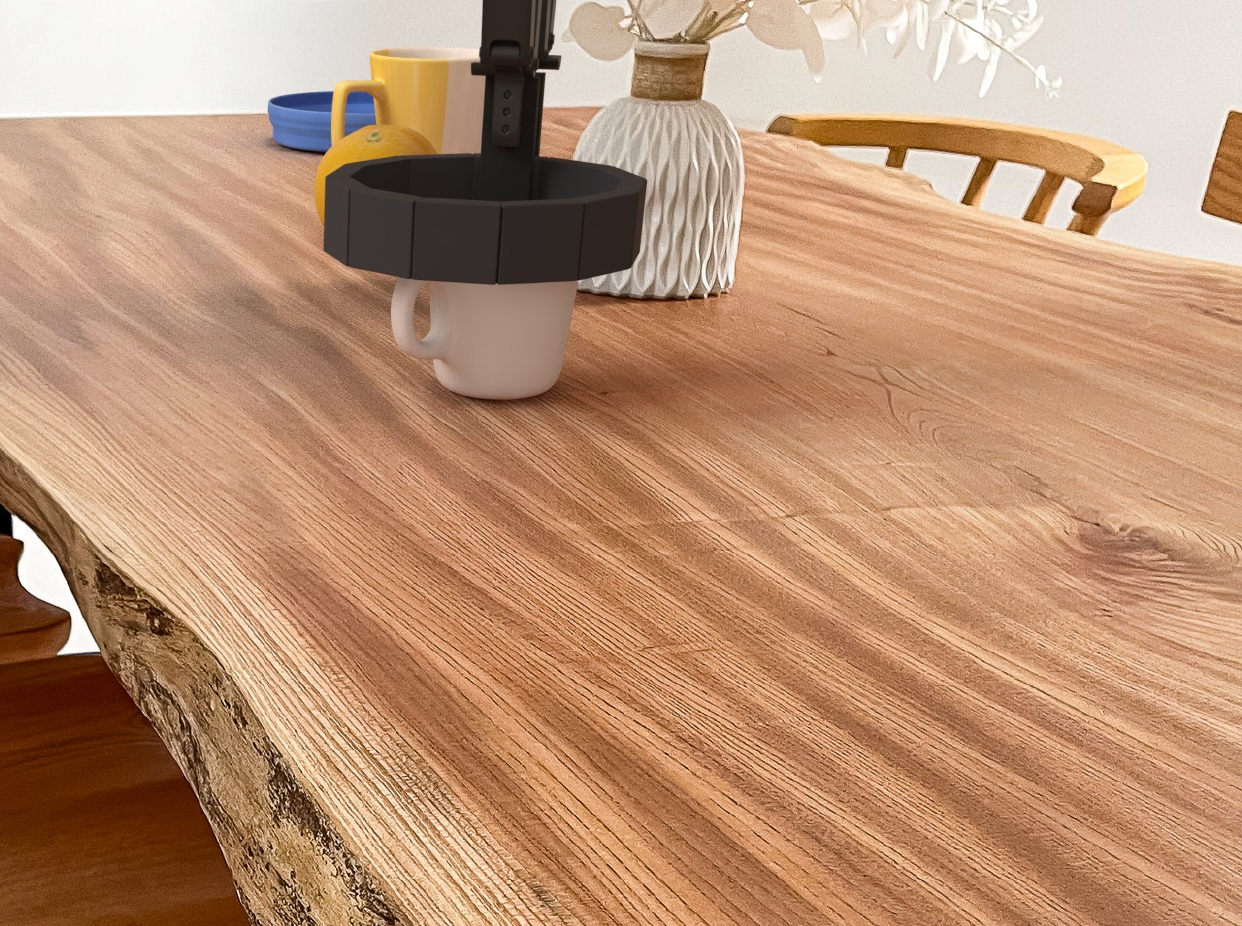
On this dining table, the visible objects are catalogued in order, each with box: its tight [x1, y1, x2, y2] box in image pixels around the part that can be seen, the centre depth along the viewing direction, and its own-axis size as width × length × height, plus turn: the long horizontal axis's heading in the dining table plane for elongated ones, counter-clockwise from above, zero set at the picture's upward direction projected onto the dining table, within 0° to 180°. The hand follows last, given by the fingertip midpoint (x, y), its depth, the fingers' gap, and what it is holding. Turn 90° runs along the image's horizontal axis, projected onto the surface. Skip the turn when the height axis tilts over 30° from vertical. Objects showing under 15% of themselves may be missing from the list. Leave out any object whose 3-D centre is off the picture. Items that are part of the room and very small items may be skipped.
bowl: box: [267, 90, 376, 153], centre depth 177 cm, size 18×18×4 cm
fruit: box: [314, 125, 437, 227], centre depth 132 cm, size 9×8×8 cm
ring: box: [323, 153, 648, 285], centre depth 97 cm, size 15×15×4 cm
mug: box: [331, 46, 486, 154], centre depth 149 cm, size 14×10×10 cm
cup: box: [390, 277, 580, 401], centre depth 99 cm, size 11×8×8 cm
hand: (506, 208), depth 103 cm, fingers closed on ring, 1 cm apart
